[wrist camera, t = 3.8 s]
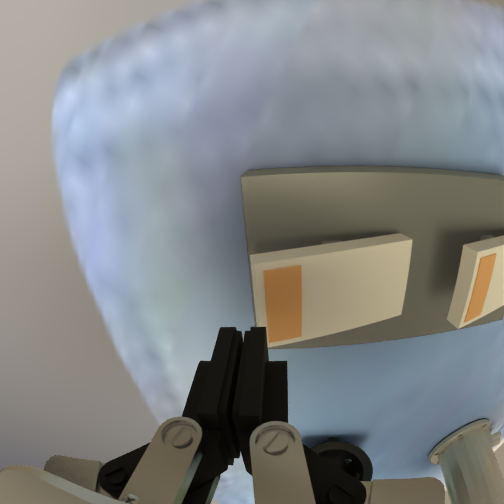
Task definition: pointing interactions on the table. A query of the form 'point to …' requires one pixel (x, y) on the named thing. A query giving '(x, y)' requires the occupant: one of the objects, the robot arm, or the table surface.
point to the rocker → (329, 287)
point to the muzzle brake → (346, 458)
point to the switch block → (379, 230)
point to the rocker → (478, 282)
